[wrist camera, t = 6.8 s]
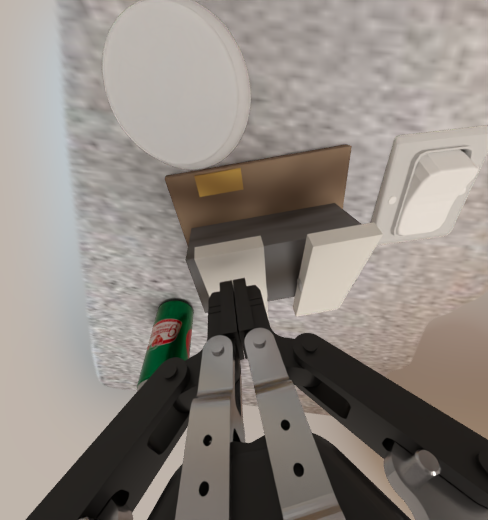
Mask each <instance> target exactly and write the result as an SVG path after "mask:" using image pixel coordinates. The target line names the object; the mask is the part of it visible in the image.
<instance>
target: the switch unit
mask: <svg viewBox="0 0 488 520" xmlns="http://www.w3.org/2000/svg"><path fill="white" fill-rule="evenodd" d="M350 153H351V146H350V145H341V146H335V147H329V148H323V149H318V150H312V151H306V152H300V153H295V154H289V155H283V156H277V157H271V158H266V159H260V160H254V161H248V162H243V163H237V164H231V165H225V166H220V167H214V168H208V169H202V170H196V171H191V172H185V173H179V174H173V175H168V176H166V177H165V181H166V184H167V187H168V190H169V193H170V196H171V199H172V202H173V204H174V207H175V210H176V213H177V216H178V219H179V222H180V225H181V228H182V231H183V233H184V236H185V239H186V242H187V245H188V250H187V256H186V262H187V265H188V268H189V270H190V273H191V276H192V278H193V281H194V284H195V287H196V289H197V292H198V295H199V297H200V300H201V303H202V306H203V308H204V311H205V313H207V312H208V300H209V298H210V297H209V294H208V292H207V289H206V287H205V284H204V282H203V279H202V277H201V274H200V272H199V269H198V267H197V265H196V262H195V260H194V252H195V247H199V246H205V245H210V244H216V243H222V242H227V241H233V240H238V239H244V238H250V237H255V236H261V239H262V242H263V245H264V257H265V273H266V287H267V292H268V297H267V301H273V300H278V299H283V298H289V297H294V296H295V294H296V289H297V279H298V278H299V273H300V268H301V263H302V258H303V253H304V248H305V243H306V238H307V234H311V233H316V232H322V231H328V230H333V229H339V228H344V227H350V226H356V225H361V223H359V222H358V221H357V220H356V219H354V218H353V217H352V216H351V215H349V214H348V213H347V212H346V211H344V210H343V202H344V195H345V188H346V181H347V174H348V167H349V160H350ZM352 286H353V285H352Z"/></svg>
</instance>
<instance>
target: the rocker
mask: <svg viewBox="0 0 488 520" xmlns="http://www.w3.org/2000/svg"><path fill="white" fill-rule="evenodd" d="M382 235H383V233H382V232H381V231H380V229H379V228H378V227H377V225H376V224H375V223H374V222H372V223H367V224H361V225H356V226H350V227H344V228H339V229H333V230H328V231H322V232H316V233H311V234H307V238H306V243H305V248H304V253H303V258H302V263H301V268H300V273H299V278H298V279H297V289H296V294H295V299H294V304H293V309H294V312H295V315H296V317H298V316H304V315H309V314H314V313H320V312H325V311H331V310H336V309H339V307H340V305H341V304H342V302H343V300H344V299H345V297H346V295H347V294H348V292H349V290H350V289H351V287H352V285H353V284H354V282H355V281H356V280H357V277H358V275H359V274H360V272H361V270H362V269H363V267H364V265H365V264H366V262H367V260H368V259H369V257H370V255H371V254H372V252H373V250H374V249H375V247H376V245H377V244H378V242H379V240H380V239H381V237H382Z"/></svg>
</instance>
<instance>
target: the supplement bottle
mask: <svg viewBox="0 0 488 520" xmlns="http://www.w3.org/2000/svg"><path fill="white" fill-rule="evenodd" d="M102 74H103V81H104V86H105V91H106V95H107V98H108V101H109V104H110V107H111V109H112V111H113V113H114V115H115V117H116V119H117V121H118V123H119V124H120V126H121V127H122V129H123V130H124V132H125V133H126V134H127V135H128V136H129V138H130V139H131V140H132V141H133V142H134V143H135V144H136V145H137V146H138V147H139V148H141V149H142V150H143V151H145V152H146V153H147V154H149V155H151V156H152V157H154V158H156V159H158V160H159V161H161V162H163V163H165V164H167V165H170V166H172V167H176V168H180V169H187V170H197V169H203V168H207V167H210V166H213V165H215V164H217V163H219V162H220V161H222V160H223V159H225V158H226V157H227V156H228V155H229V154H230V153H231V152H232V151H233V150H234V149H235V147H236V146H237V145H238V143H239V142H240V140H241V138H242V136H243V134H244V131H245V129H246V126H247V122H248V118H249V113H250V105H251V88H250V81H249V75H248V70H247V67H246V64H245V60H244V58H243V55H242V53H241V50H240V48H239V46H238V45H237V43H236V41H235V39H234V38H233V36H232V35H231V33H230V31H229V30H228V29H227V27H226V26H225V25H224V24H223V23H222V22H221V21H220V20H219V19H218V18H217V17H216V16H215V15H214V14H213V13H212V12H211V11H209V10H208V9H207V8H205V7H203V6H202V5H200V4H199V3H197V2H195V1H193V0H143V1H140V2H137V3H135V4H133V5H131V6H130V7H128V8H127V9H125V10H124V11H123V12H122V13H121V14H120V15H119V16H118V18H117V19H116V21H115V22H114V24H113V25H112V27H111V29H110V31H109V33H108V36H107V38H106V41H105V45H104V50H103V57H102Z"/></svg>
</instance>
